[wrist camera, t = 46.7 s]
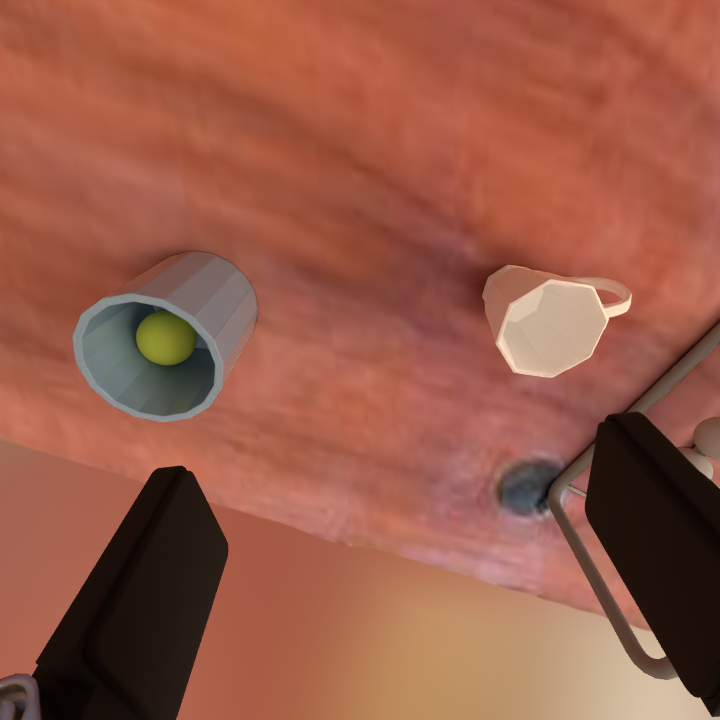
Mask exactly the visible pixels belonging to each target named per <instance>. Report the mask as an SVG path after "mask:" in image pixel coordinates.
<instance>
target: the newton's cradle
mask: <svg viewBox="0 0 720 720" xmlns="http://www.w3.org/2000/svg"><path fill="white" fill-rule="evenodd" d="M719 344H720V323H719V324H718V325H717V326H715V327H714V328H713V329H712V330H711V331H710V332H709V333H708V334H707V335H706V336H705V337H704V338H703V339H702V340H701V341H700V342H699V343H698V344H697V345H696V346H695V347H694V348H693V349H692V350H690V351H689V352H688V353H687V354H686V355H685V356H684V357H683V358H682V359H681V360H680V361H679V362H678V363H677V364H676V365H675V366H674V367H673V368H672V369H671V370H670V371H669V372H668V373H666V374H665V375H664V376H663V377H662V378H661V379H660V380H659V381H658V382H657V383H656V384H655V385H654V386H653V387H652V388H651V389H650V390H649V391H648V392H647V393H646V394H645V395H644V396H643V397H641V398H640V399H639V400H638V401H637V402H636V403H635V404H634V405H633V406H632V407H631V408H630V409H629V410H628V411H627V412H635V411H637V412H640V413H642V414H643V415H644V414H645V413H646V412H647V411H648V410H649V409H650V408H651V407H652V406H653V405H654V404H655V403H657V402H658V401H659V400H660V399H661V398H662V397H663V396H664V395H665V394H666V393H667V392H668V391H669V390H670V389H672V388H673V387H674V386H675V385H676V384H677V383H678V382H679V381H680V380H681V379H682V378H683V377H684V376H685V375H687V374H688V373H689V372H690V371H691V370H692V369H693V368H694V367H695V366H696V365H697V364H698V363H699V362H700V361H702V360H703V359H704V358H705V357H706V356H707V355H708V354H709V353H710V352H711V351H712V350H713V349H714V348H715V347H717V346H718V345H719ZM627 412H626V413H627ZM693 438H694V442H695V445H696V446H695V447H694V448H693V449H691V448H686V447H678V448H677V449H678V450H679V451H680V452H681V453H682V454H683V455H684V456H685V457H686V458H687V459H688V460H689V461H690V462H691V463H692V464H693V465H694V466H695V467H696V468H697V469H698V470H699V471H700V472H702V473H703V474H704V475H705V476H707V477H708V478H709V479H710V480H711V479H712V476H713V469H712V465H711V463H710V461H709V460H708V459H707V458H706V457H705V456H708V457H710V458H712V459H715V460H719V461H720V417H713V418H709V419H706V420H704V421H702V422H701V423H699V424H698V426H697V427H696V428H695V430H694V435H693ZM594 447H595V443H594V444H593V445H591V446H590V447H589V448H588V449H587V450H586V451H585V452H584V453H583V454H582V455H581V456H580V457H579V458H578V459H577V460H576V461H575V462H574V463H573V464H572V465H571V466H570V467H569V468H567V469H566V470H565V471H564V472H563V473H562V474H561V475H560V476H559V477H558V478H557V479H556V480H555V481H554V483H553V484H552V486H551V488H550V490H549V495H548V503H549V506H550V509H551V511H552V513H553V515H554V517H555V519H556V521H557V523H558V525H559V526H560V528H561V530H562V532H563V534H564V536H565V538H566V540H567V541H568V543H569V545H570V547H571V549H572V551H573V553H574V555H575V557H576V558H577V560H578V562H579V564H580V566H581V568H582V570H583V572H584V573H585V575H586V577H587V579H588V581H589V583H590V585H591V587H592V589H593V590H594V592H595V594H596V596H597V598H598V600H599V602H600V604H601V605H602V607H603V609H604V611H605V613H606V615H607V617H608V619H609V621H610V622H611V624H612V626H613V628H614V630H615V632H616V634H617V636H618V637H619V639H620V641H621V643H622V645H623V647H624V649H625V651H626V652H627V654H628V655H629V657H630V658H631V660H632V661H633V663H634V664H635V665H636V666H637V667H638V668H640V669H641V670H642V671H643V672H644V673H646V674H648V675H650V676H652V677H654V678H657V679H664V680H669V679H672V678H676V677H679V676H678V674H677V673H676V671H675V669H674V668H673V666H672V664H671V662H670V661H669V659H668V657H667V656H666V657H664V658H661V659H653V658H651V657H649V656H648V655H647V654H646V653H645V652H644V650H643V649H642V647H641V646H640V644H639V642H638V640H637V638H636V637H635V635H634V633H633V631H632V630H631V628H630V626H629V624H628V623H627V621H626V619H625V617H624V616H623V614H622V612H621V610H620V608H619V607H618V605H617V603H616V601H615V600H614V598H613V596H612V594H611V593H610V591H609V589H608V587H607V586H606V584H605V582H604V580H603V578H602V577H601V575H600V573H599V571H598V570H597V568H596V566H595V564H594V563H593V561H592V559H591V557H590V555H589V554H588V552H587V550H586V548H585V547H584V545H583V543H582V541H581V540H580V538H579V536H578V534H577V533H576V531H575V529H574V527H573V525H572V524H571V522H570V520H569V518H568V517H567V515H566V513H565V511H564V510H563V508H562V506H561V503H560V496H561V493H562V491H563V490H564V489H565V488H566V489H568V490H571V491H573V492H575V493H577V494H579V495H582V496H584V497H586V495H587V494H586V493H584V492H582V491H580V490H577V489H575V488H573V487H571V486H569V484H570V483H571V482H572V481H573V480H574V479H575V478H576V477H577V476H578V475H579V474H581V473H582V472H583V471H584V470H585V469H586V468H587V467H588V466H589V465H590V464H591V463H592V459H593V453H594Z"/></svg>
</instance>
